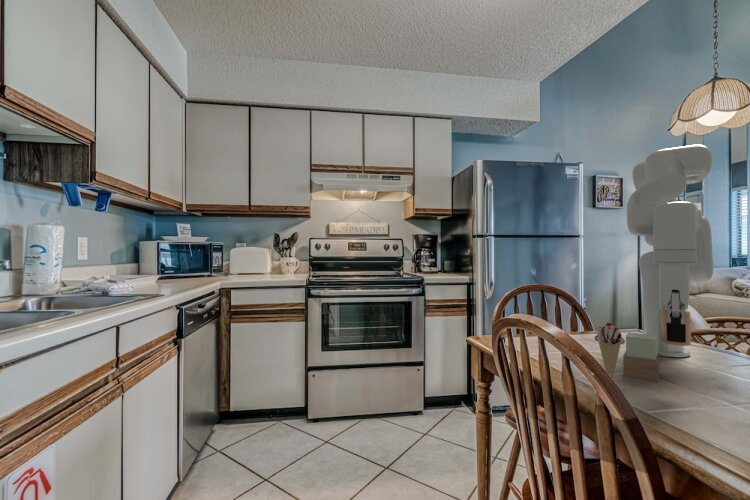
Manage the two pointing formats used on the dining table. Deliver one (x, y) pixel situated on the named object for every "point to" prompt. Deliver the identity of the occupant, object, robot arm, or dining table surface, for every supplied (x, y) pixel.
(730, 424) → the dining table surface
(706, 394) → the dining table surface
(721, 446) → the dining table surface
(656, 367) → the base block
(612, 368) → the ice cream cone
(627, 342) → the pale green block
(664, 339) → the tan rounded capsule
